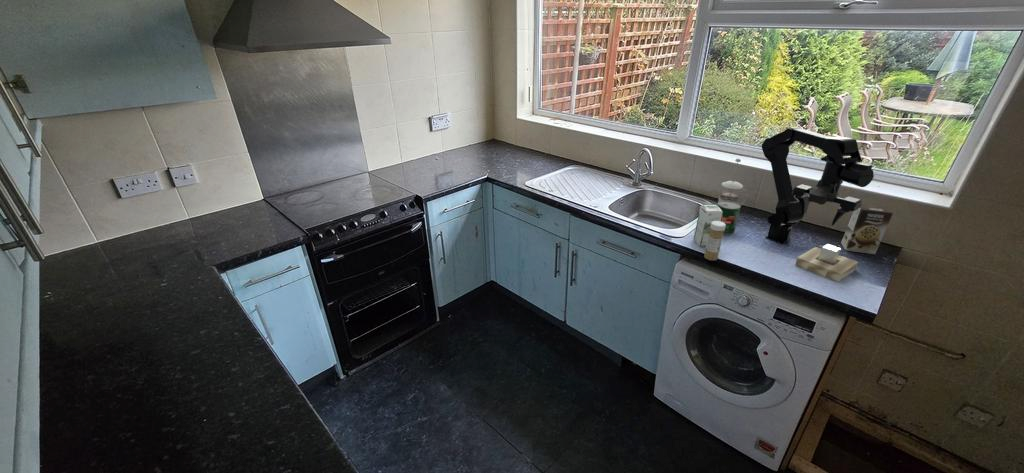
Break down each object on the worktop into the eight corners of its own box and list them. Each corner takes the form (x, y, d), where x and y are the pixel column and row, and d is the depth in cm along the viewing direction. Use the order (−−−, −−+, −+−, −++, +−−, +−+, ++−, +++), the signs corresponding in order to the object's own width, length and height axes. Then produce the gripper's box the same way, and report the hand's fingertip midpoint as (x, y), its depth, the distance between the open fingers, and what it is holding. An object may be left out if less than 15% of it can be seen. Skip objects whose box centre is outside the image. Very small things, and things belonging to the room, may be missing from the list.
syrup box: (708, 239, 164) (715, 204, 158) (714, 246, 159) (723, 210, 153) (693, 239, 164) (700, 204, 158) (699, 247, 159) (707, 210, 152)
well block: (794, 265, 147) (797, 257, 145) (812, 254, 153) (815, 246, 152) (838, 282, 137) (841, 274, 136) (855, 269, 144) (858, 261, 142)
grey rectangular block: (815, 265, 145) (822, 247, 142) (821, 262, 147) (827, 243, 144) (828, 270, 143) (835, 251, 139) (834, 266, 145) (841, 248, 141)
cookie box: (845, 250, 155) (861, 209, 148) (840, 243, 161) (855, 202, 154) (876, 254, 153) (893, 213, 145) (869, 246, 158) (886, 206, 151)
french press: (709, 210, 189) (721, 154, 177) (738, 211, 187) (751, 155, 176) (716, 220, 180) (729, 161, 169) (745, 221, 179) (760, 162, 167)
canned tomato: (731, 226, 174) (737, 201, 169) (736, 235, 167) (743, 209, 162) (710, 225, 175) (715, 200, 170) (715, 234, 168) (721, 208, 163)
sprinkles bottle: (710, 253, 154) (717, 219, 148) (720, 259, 151) (729, 224, 145) (700, 256, 153) (708, 221, 147) (711, 262, 149) (719, 227, 143)
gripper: (790, 174, 144) (777, 217, 151) (855, 190, 130) (838, 236, 137) (806, 168, 149) (793, 209, 156) (870, 182, 135) (852, 227, 142)
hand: (817, 220), depth 148 cm, fingers open, 9 cm apart
